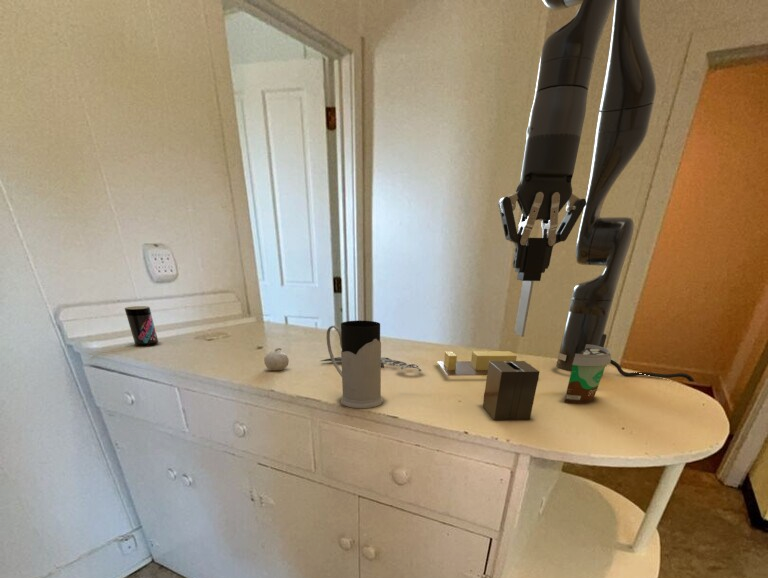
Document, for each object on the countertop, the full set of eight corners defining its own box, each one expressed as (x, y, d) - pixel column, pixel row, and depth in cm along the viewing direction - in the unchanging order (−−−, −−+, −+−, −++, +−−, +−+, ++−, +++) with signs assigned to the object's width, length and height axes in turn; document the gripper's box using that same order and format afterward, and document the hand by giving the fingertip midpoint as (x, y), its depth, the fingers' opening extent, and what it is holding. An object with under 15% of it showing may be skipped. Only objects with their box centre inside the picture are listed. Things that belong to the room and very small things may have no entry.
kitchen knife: (523, 332, 78) (539, 238, 70) (531, 336, 75) (549, 237, 67) (507, 332, 78) (522, 237, 70) (514, 336, 74) (531, 237, 66)
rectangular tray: (516, 365, 116) (517, 360, 115) (535, 379, 104) (536, 374, 104) (436, 365, 114) (437, 361, 114) (447, 380, 103) (447, 375, 102)
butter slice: (451, 365, 110) (452, 351, 108) (455, 370, 106) (457, 355, 104) (443, 365, 110) (445, 351, 108) (447, 370, 106) (448, 355, 104)
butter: (508, 365, 111) (510, 351, 109) (514, 370, 107) (516, 355, 105) (470, 365, 111) (472, 351, 109) (475, 370, 106) (477, 355, 104)
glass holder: (361, 411, 83) (360, 329, 75) (315, 395, 91) (309, 320, 83) (391, 401, 89) (393, 323, 81) (345, 387, 97) (342, 315, 89)
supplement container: (135, 347, 128) (124, 309, 122) (134, 343, 133) (123, 306, 127) (160, 345, 131) (150, 308, 125) (157, 341, 136) (148, 305, 130)
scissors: (318, 358, 114) (339, 349, 121) (319, 364, 114) (339, 355, 122) (414, 374, 102) (431, 363, 110) (414, 381, 103) (430, 369, 110)
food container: (593, 409, 86) (608, 358, 81) (562, 403, 89) (574, 354, 84) (603, 394, 95) (617, 347, 90) (574, 389, 98) (586, 343, 92)
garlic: (287, 366, 112) (285, 345, 109) (290, 371, 108) (288, 349, 105) (264, 367, 110) (261, 346, 107) (266, 373, 106) (263, 351, 103)
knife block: (515, 405, 88) (524, 360, 83) (529, 419, 81) (539, 371, 76) (482, 406, 87) (489, 360, 82) (494, 420, 80) (501, 371, 75)
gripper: (514, 128, 58) (495, 273, 67) (613, 132, 59) (580, 274, 68) (498, 139, 64) (482, 270, 74) (587, 142, 65) (560, 271, 75)
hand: (529, 271), depth 71 cm, fingers closed on kitchen knife, 3 cm apart
